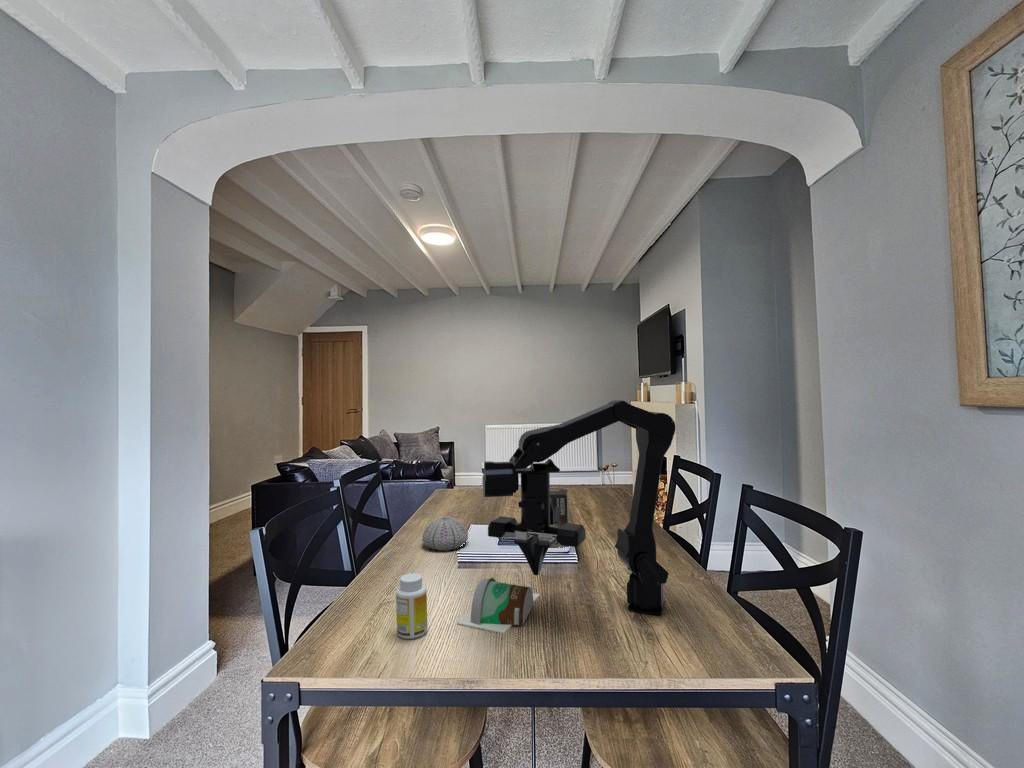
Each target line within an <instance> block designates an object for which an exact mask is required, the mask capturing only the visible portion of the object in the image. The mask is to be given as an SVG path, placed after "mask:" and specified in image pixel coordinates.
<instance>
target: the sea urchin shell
mask: <svg viewBox="0 0 1024 768" xmlns="http://www.w3.org/2000/svg"><path fill="white" fill-rule="evenodd" d="M421 537H422V538H421V541H422V544H424V546H425V547H427V548H429V549H432V550H435V551H436V550H437V551H441V552H442V551H443V552H444V551H445V552H447V551H452V550H458V549H460V548H461V547H460V546H461V545H462V544H463V543H465V542H466V541H467V542H468V539H469V532H468V529H467V528H466V527H465V526H464V524H463V523H461V522H460V521H459V520H458V519H456V518H453V517H448V516H444V517H443V516H442V517H441V518H436V519H435V520H432V521H431V522H430V523H428V525H427V526H426V527H425V528H424V530H423V532H422V536H421ZM467 542H466V543H467ZM459 547H460V548H459Z"/></svg>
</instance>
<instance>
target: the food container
mask: <svg viewBox="0 0 1024 768" xmlns="http://www.w3.org/2000/svg"><path fill="white" fill-rule="evenodd" d="M533 593H534V592H533V591H532V588H531V586H530V587H529V586H524V585H517V584H511V583H505V582H500V581H496V579H495V578H494V577H489V578H483V579H482V580H480V581H479V582H478V583H477V586H476V588H475V591H474V594H473V597H472V602H471V607H470V609H471V610H470V611H471V623H474V624H478V625H480V623H486V624H505V625H512V626H524V624H525V622H526V619H527V618H528V616H529V614H530V612H531V610H532V608H533V606H534V603H533Z"/></svg>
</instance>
